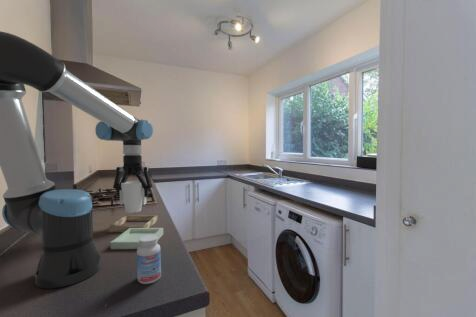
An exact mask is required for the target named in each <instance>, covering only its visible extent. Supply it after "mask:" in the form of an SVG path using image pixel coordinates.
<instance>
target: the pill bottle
mask: <svg viewBox="0 0 476 317" xmlns="http://www.w3.org/2000/svg"><path fill="white" fill-rule="evenodd" d="M158 241H159V239H158V237H157V236H156V235H146V236H143V237H141V238H140V239H139V244H140V247H139V248H138V249H136V270H137V271H136V274H137V275H136V278H137V279H136V280H137V281H138V282H139V283H140V284H142V285H149V284H153V283H156V282H157V281H159V280H160V279H161V277H162V262H161V261H162V258H161V257H162V253H161V252H162V251H161V245H160V244H159V243H158Z"/></svg>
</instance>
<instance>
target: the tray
mask: <svg viewBox="0 0 476 317" xmlns="http://www.w3.org/2000/svg"><path fill="white" fill-rule="evenodd" d="M146 235H156V236H157V237H158V240H160V238H162V236H163V235H164V227H150V228H129V229H128V230H126V231H125V232H121V234H120V235H119V236H117V237H116V238H114V239H113V240H111V241H110V245H109V246H110V250H137V249H138V248H139V247H140V244H139V239H140V238H141V237H143V236H146Z"/></svg>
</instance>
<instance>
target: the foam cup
mask: <svg viewBox="0 0 476 317" xmlns="http://www.w3.org/2000/svg"><path fill="white" fill-rule="evenodd" d="M121 188H122V192H123V199H124V204H123V205H124V210H125V213H126V214H127V213H128V214H129V213H130V214H131V213H132V214H133V213H139V212H141V211H142V206H143V205H142V190H144V188H143V187H142V183H140V181H139V180H133V181H132V180H130V181H126V182H125V183H121Z"/></svg>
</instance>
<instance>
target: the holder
mask: <svg viewBox="0 0 476 317" xmlns="http://www.w3.org/2000/svg"><path fill="white" fill-rule="evenodd" d="M158 221H159V215H158V214H156V215H155V214H153V215H152V214H150V215H149V214H148V215H147V214H146V215H145V214H144V215H142V214H139V215H138V214H136V215H134V214H132V215H125V216H123V217H121V218H120V219H118V220H117V221H115V222H112V224H110V225H108V226H107V232H108V233H124V232H125V231H126V230H128V229H129V228H152V226H153V225H154V224H155V223H156V222H158ZM127 222H146V223H145V224H143V225H123V224H125V223H127Z"/></svg>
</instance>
